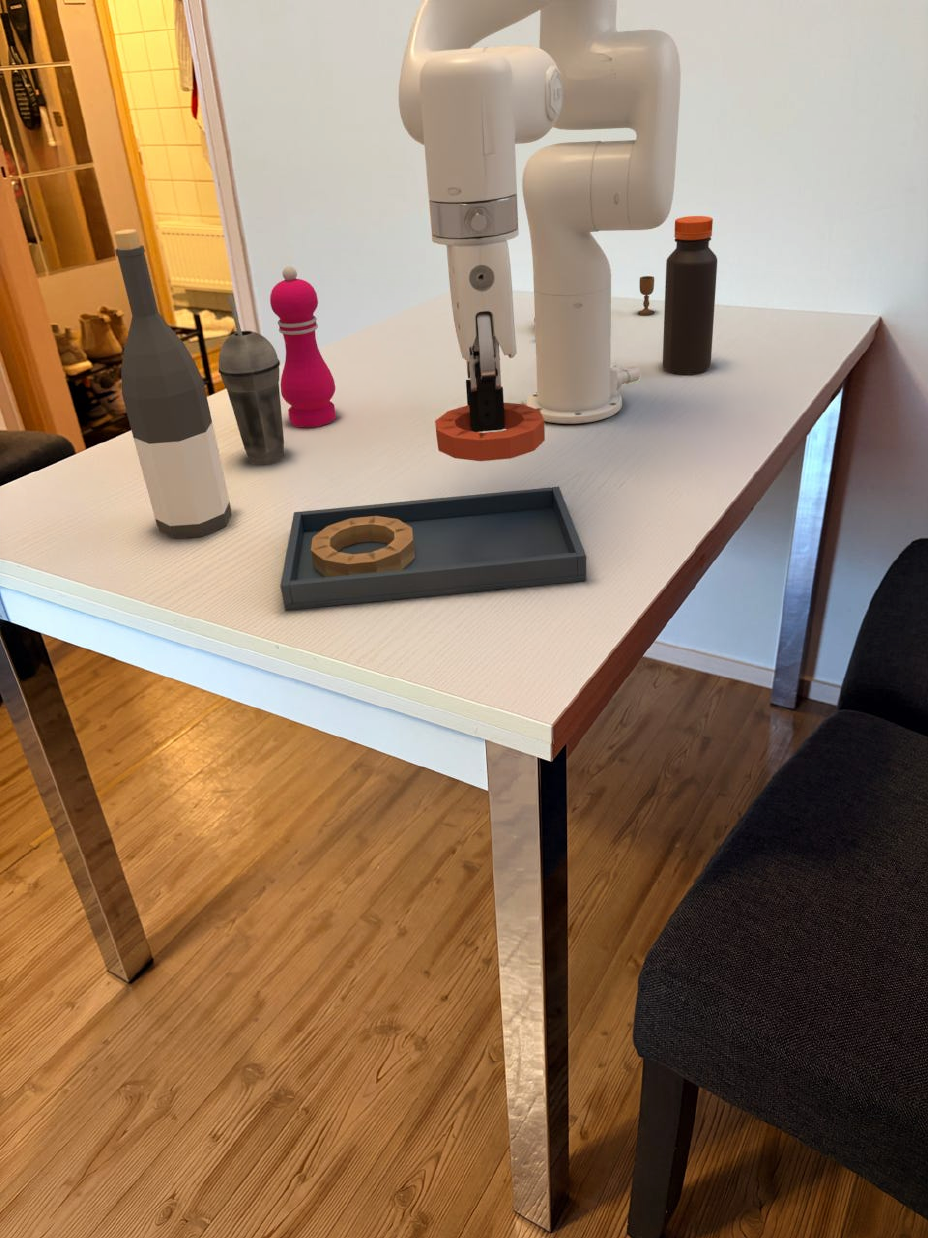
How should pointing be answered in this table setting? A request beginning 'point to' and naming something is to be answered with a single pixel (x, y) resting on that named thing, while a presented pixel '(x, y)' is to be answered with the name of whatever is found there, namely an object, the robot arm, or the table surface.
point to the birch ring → (358, 532)
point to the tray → (444, 548)
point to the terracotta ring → (490, 434)
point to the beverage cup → (253, 392)
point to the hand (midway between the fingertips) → (486, 423)
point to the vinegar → (690, 298)
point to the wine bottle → (168, 411)
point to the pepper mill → (302, 353)
